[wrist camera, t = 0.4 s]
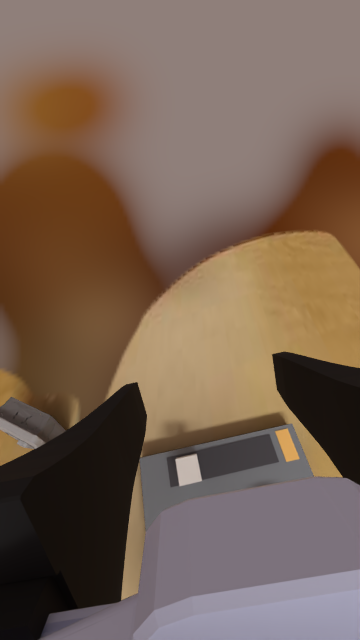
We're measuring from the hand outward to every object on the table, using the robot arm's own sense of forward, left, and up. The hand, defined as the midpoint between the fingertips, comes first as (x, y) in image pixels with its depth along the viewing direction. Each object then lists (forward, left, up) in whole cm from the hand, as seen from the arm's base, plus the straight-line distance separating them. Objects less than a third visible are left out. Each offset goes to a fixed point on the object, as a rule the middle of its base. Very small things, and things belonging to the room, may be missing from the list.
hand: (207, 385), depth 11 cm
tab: (-6, +3, -26) cm, 27 cm away
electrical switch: (+4, +26, -29) cm, 39 cm away
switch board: (-10, -2, -28) cm, 30 cm away
